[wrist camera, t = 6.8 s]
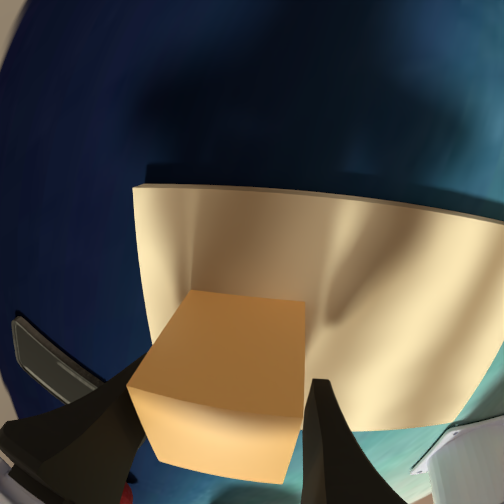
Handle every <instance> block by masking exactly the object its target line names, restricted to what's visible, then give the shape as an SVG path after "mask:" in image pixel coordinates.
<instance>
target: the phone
mask: <svg viewBox="0 0 504 504" xmlns="http://www.w3.org/2000/svg"><path fill="white" fill-rule="evenodd" d="M12 332H13V340H14V347H15V353H16V359H17V361H18V363H19V365H20V366H21V367H22V368H23V370H24V371H26V372H27V373H28V374H29V375H30V376H31V377H32V378H33V379H34V380H36V381H37V382H38V383H39V384H40V385H41V386H43V387H44V388H45V389H46V390H47V391H49V392H50V393H51V394H52V395H54V396H55V397H56V398H57V399H59V400H60V401H61V402H63V403H64V404H65V405H67V404H69V403H72V402H74V401H76V400H78V399H80V398H81V397H83V396H85V395H87V394H89V393H90V392H92V391H93V390H95V389H97V388H98V387H100V386H101V385H103V384H104V382H102V381H101V380H99V379H98V378H96V377H95V376H93V375H92V374H91V373H89V372H88V371H86V370H85V369H84V368H82V367H81V366H80V365H78V364H77V363H76V362H74V361H73V360H72V359H70V358H69V357H68V356H67V355H65V354H64V353H63V352H62V351H60V350H59V349H58V348H57V347H55V346H54V345H53V344H52V343H51V342H49V341H48V340H47V339H46V338H45V337H44V336H42V335H41V334H40V333H39V332H38V331H37V330H36V329H35V328H33V327H32V326H31V325H30V324H29V323H28V322H27V321H26V320H25V319H24V318H22V317H21V316H18V317H16V318H15V319H14V320H13V321H12ZM146 438H147V435H146V434H145V436H144V438H143V440H142V442H141V443H140V445H139V447H138V448H140V446H141V445H142V444H143V442H144V441H145V439H146Z"/></svg>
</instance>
